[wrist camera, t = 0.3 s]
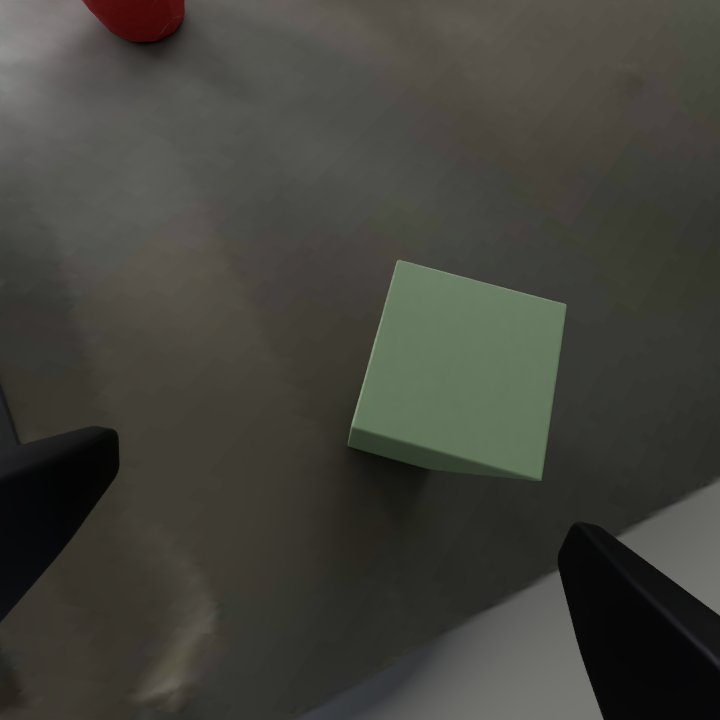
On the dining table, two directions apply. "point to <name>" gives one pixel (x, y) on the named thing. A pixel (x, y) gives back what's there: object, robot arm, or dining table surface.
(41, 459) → the robot arm
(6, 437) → the mat
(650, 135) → the dining table surface
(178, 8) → the water bottle
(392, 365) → the block
